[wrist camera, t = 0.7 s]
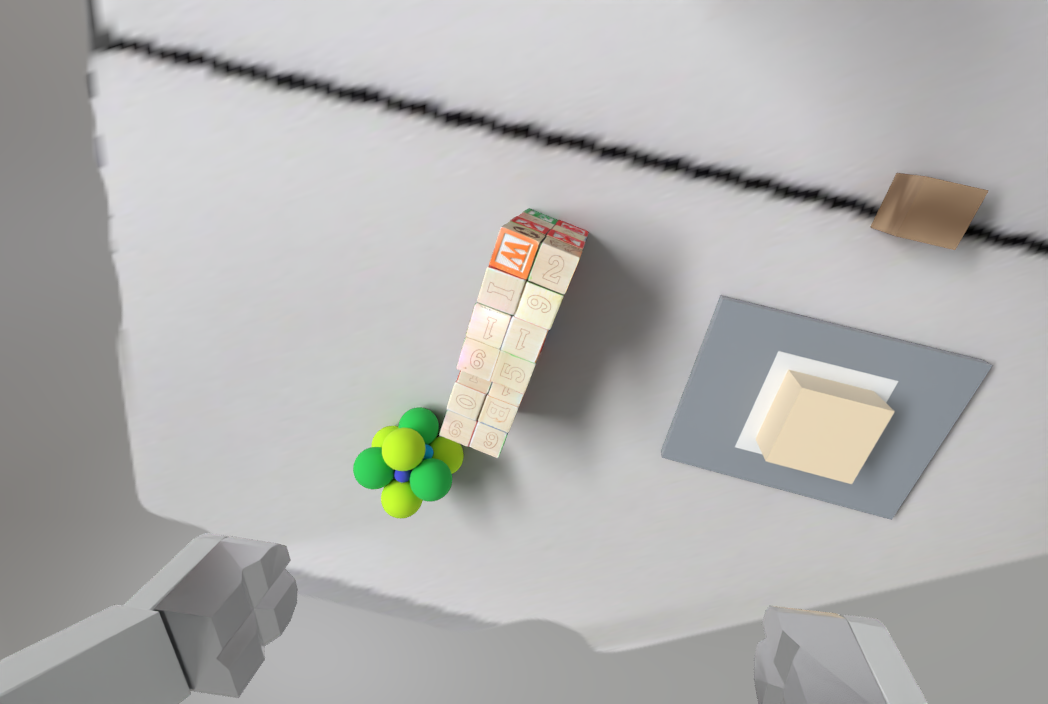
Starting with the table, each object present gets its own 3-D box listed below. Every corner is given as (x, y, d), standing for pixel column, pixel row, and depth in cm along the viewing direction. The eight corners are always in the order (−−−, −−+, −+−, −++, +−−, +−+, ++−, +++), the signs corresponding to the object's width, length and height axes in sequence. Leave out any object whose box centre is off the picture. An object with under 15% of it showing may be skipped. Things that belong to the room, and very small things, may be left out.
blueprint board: (720, 295, 48) (731, 312, 43) (983, 360, 46) (1025, 385, 42) (660, 451, 55) (664, 480, 51) (886, 511, 54) (912, 548, 49)
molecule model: (426, 393, 58) (374, 430, 61) (396, 435, 50) (337, 474, 53) (475, 450, 59) (422, 482, 63) (453, 498, 51) (393, 533, 55)
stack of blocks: (515, 412, 57) (490, 479, 45) (463, 391, 57) (424, 453, 46) (589, 229, 48) (581, 257, 37) (527, 205, 48) (500, 225, 37)
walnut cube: (896, 172, 42) (926, 176, 38) (952, 185, 42) (988, 190, 38) (869, 227, 44) (895, 236, 40) (923, 239, 44) (955, 250, 39)
